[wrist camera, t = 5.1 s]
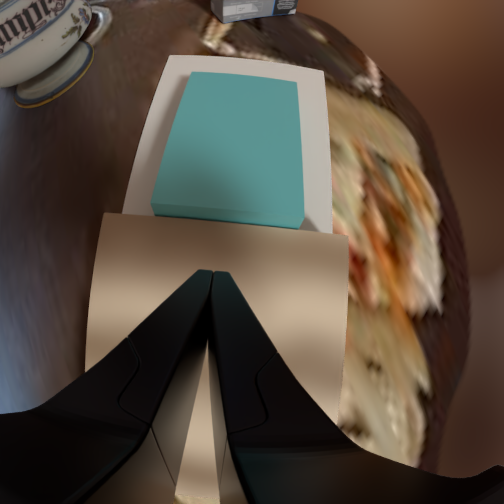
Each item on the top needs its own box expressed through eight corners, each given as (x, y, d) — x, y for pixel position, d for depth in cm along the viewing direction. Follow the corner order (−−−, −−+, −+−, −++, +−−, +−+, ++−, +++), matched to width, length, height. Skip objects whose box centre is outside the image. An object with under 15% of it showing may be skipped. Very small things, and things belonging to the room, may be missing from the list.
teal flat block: (304, 217, 15) (296, 82, 20) (150, 202, 15) (191, 71, 19) (295, 234, 17) (291, 100, 22) (156, 221, 17) (192, 90, 21)
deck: (310, 475, 16) (324, 495, 13) (106, 457, 15) (91, 475, 12) (330, 247, 20) (348, 235, 17) (119, 227, 18) (103, 212, 16)
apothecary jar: (8, 74, 21) (-49, -26, 3) (95, 24, 23) (65, -94, 6) (6, 139, 19) (-92, 17, 2) (114, 75, 21) (67, -94, 4)
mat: (331, 239, 20) (332, 238, 19) (121, 219, 19) (120, 219, 18) (322, 72, 23) (323, 71, 23) (169, 56, 22) (169, 55, 22)
